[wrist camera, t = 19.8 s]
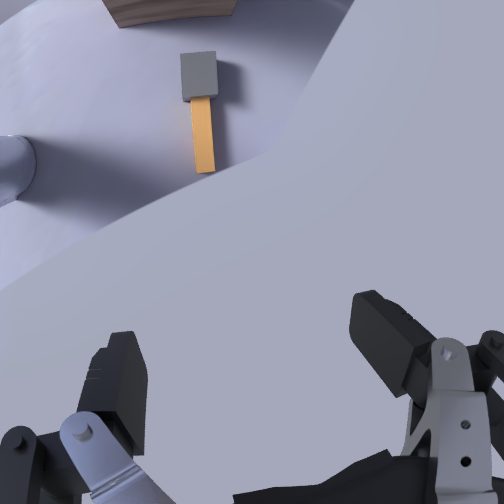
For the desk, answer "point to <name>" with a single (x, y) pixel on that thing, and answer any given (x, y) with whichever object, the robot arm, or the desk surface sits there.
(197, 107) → the mallet
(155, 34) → the desk surface
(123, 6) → the brown wooden tall block
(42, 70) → the desk surface
